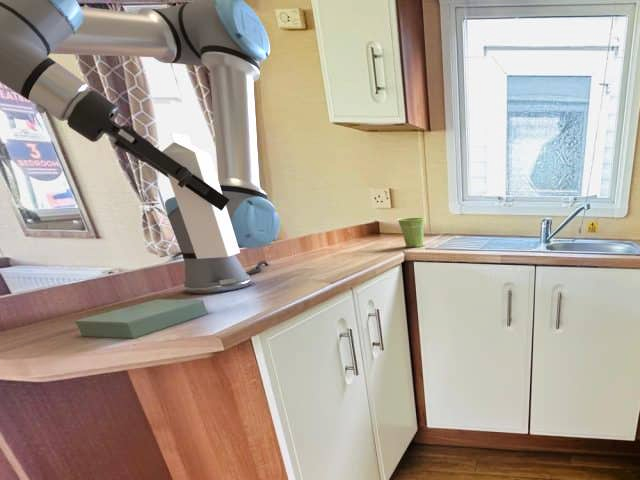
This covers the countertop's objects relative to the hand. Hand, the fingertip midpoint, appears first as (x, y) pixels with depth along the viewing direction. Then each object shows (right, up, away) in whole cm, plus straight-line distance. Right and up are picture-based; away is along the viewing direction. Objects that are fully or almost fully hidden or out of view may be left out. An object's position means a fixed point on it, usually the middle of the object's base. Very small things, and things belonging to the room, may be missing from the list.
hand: (222, 204), depth 86 cm
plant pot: (+17, +23, +97) cm, 101 cm away
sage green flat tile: (-14, -25, -1) cm, 28 cm away
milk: (-2, -10, +2) cm, 10 cm away
